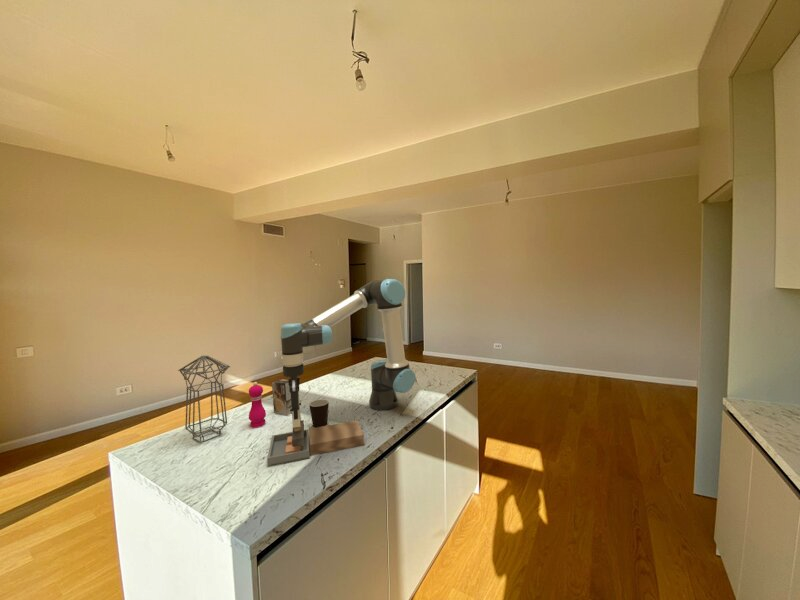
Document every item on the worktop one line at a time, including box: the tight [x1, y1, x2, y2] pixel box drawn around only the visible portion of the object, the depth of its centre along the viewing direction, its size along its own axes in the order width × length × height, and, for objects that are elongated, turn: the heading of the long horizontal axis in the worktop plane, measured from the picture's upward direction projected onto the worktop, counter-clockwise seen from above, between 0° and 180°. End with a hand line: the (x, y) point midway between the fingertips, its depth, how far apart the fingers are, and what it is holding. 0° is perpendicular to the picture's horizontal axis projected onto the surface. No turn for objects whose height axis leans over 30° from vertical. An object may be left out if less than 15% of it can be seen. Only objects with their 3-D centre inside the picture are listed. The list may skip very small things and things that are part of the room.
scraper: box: [292, 396, 305, 447], centre depth 117 cm, size 4×16×14 cm, turn 18°
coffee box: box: [271, 378, 292, 416], centre depth 154 cm, size 9×6×16 cm
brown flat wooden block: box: [308, 420, 365, 456], centre depth 122 cm, size 20×14×4 cm
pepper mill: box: [248, 381, 267, 429], centre depth 140 cm, size 7×7×20 cm
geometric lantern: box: [177, 355, 231, 444], centre depth 131 cm, size 16×16×35 cm
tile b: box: [286, 445, 300, 454], centre depth 113 cm, size 5×5×2 cm
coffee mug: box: [308, 398, 330, 428], centre depth 139 cm, size 12×9×10 cm
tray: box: [266, 428, 311, 467], centre depth 117 cm, size 14×18×3 cm
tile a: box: [287, 436, 292, 445], centre depth 120 cm, size 5×5×2 cm
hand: (296, 424), depth 117 cm, fingers closed on scraper, 2 cm apart
